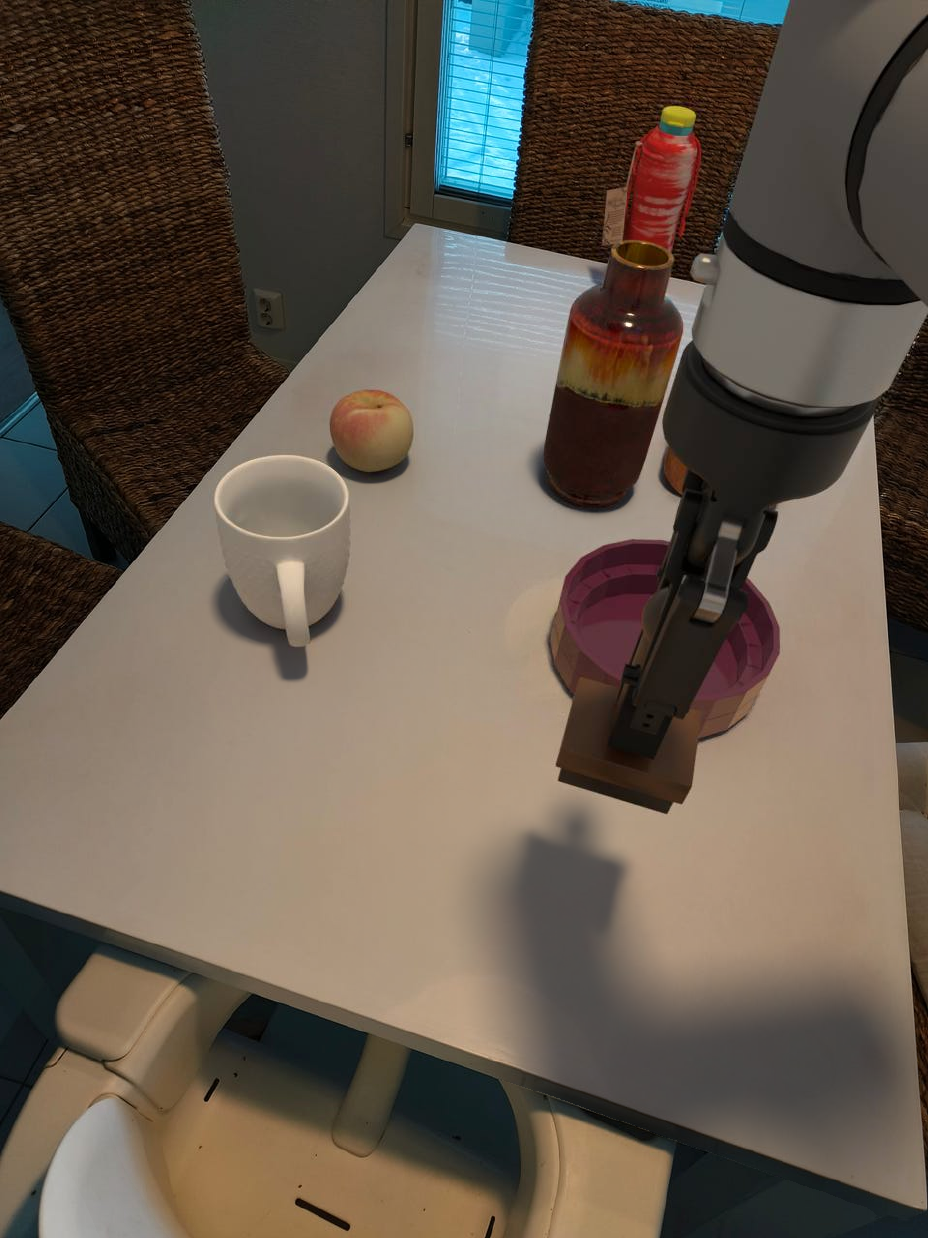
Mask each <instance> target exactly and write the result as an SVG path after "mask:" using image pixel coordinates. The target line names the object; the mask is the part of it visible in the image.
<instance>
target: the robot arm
mask: <svg viewBox="0 0 928 1238" xmlns="http://www.w3.org/2000/svg"><path fill="white" fill-rule="evenodd" d="M732 190H733V191H732V194H731V197H730V204H729V206H728V209H727V212H726V215H725V219H724V221H723V225H722V228H721V231H722V232H721V233H720V237H719V239H718V241H717V242H718V243H717V254H712V253H711V254H710V253H699V254H698V255H697V256H696V257H695V258H693V259H694V260H693V262H692V265H691V268H690V272H689V273H690V275H691V278H692V279H693V280H694V281H696V282H698V283H702V284H705V287H703V291H702V294H701V298H700V301H699V304H698V307H697V310H696V314H695V317H694V320H693V323H692V327H691V339H692V340H691V341H690V342H689V343H687V344H686V345H685V347H684V349H683V350H682V354H681V355H680V360H679V363H678V365H677V369H676V373H675V376H674V379H673V382H672V386H671V388H670V392H669V395H668V398H667V401H666V404H665V405H666V406H665V408H664V411H663V414H662V421H661V422H662V432H663V437H664V439H665V442H666V444H667V447H668V446H669V448H670V449H671V451H672V452H673V454H674V455H675V456H676V457H677V459H678V460H679V461H680V462H681V463H682V464H683V465H684V466H686V467H687V469H686V473H685V477H684V482H683V486H682V493H683V495H682V494H681V498H680V501H679V503H678V506H677V509H676V513H675V516H674V517H675V518H674V522H673V526H672V535H671V537H670V540H669V542H670V543H669V546H668V549H667V552H666V555H665V558H664V561H663V563H662V566H661V567H660V568H658V571H657V575H656V576H657V578H658V580H657V583H659V585H658V588H657V591H659V590H660V589H662V588H665V587H667V586H669V588H668V591H667V593H666V596H665V599H664V602H663V604H662V607H661V610H660V613H659V616H658V618H657V621H656V624H655V627H654V630H653V632H652V635H651V638H650V641H649V644H648V646H647V649H646V652H645V655H644V658H643V660H642V663H641V665H639V664H636V666H633V665H631V664H632V662H633V659H634V656H635V654H636V651H637V648H638V646H639V643H640V640H641V637H642V635H643V628H642V630H641V632H640V635H639V638H638V641H637V643H636V646H635V649H634V651H633V654H632V657H631V660H630V662H629V664H626V663H625V666H624V670H623V673H622V678H621V682H622V684H621V687H620V690H619V694H618V698H617V700H618V699H619V697H620V694H621V691H622V689H623V686H624V683H625V684H629V685H628V687H627V690H626V693H625V695H624V698H623V700H622V703H621V706H620V708H619V711H618V714H617V716H616V719H615V722H614V724H613V727H612V730H611V732H610V735H609V739H608V744H607V746H609V747H612V748H615V749H619V750H622V751H626V752H629V753H632V754H636V755H639V756H642V757H646V758H649V759H653V760H654V758H655V756H656V754H657V751H658V749H659V747H660V745H661V743H662V741H663V738H664V736H665V734H666V732H667V730H668V728H669V725H670V723H671V721H672V719H673V717H675V718H678V719H682V720H683V719H684V718H685V715H686V713H687V714H688V712H689V709H690V706H691V704H692V702H693V700H694V698H695V696H696V694H697V693H698V691H699V689H700V687H701V685H702V683H703V681H704V679H705V677H706V675H707V673H708V672H709V670H710V668H711V666H712V664H713V662H714V660H715V658H716V656H717V654H718V653H719V651H720V649H721V647H722V645H723V643H724V641H725V639H726V637H727V635H728V634H729V632H730V631H731V630H732V629H733V628H734V626H735V625H736V624H737V623H738V622H739V621H740V619H741V617H742V615H743V613H744V614H745V613H746V611H747V609H748V605H749V602H748V599H749V596H748V593H747V592H746V591H742V588H743V586H744V583H745V581H746V579H747V578H748V576H749V574H750V572H751V569H752V567H753V564H754V562H755V560H756V558H757V556H758V555H759V554H760V553H762V552H764V551H765V550H766V549H767V547H768V545H769V543H770V540H771V538H772V536H773V533H774V531H775V528H776V526H777V523H778V518H779V511H778V510H775V509H772V508H770V506H772V505H775V504H776V505H777V504H782V503H785V502H789V501H794V500H801V499H805V498H810V497H813V496H815V495H818V494H820V493H822V492H824V491H826V490H828V489H829V488H830V487H832V486H833V485H834V484H835V483H836V482H837V481H838V480H839V479H840V478H841V477H842V475H843V474H844V472H845V470H846V468H847V467H848V464H849V462H850V460H851V459H852V456H853V454H854V453H855V451H856V450H857V447H858V445H859V443H860V441H861V439H862V438H863V435H864V434H865V431H866V430H867V428H868V426H869V425H870V422H871V420H872V418H873V416H874V415H875V412H876V409H877V398H879V397H880V396H881V395H882V394H884V393H885V392H886V391H888V390H889V389H890V388H891V386H892V384H893V382H894V380H895V378H896V376H897V374H898V372H899V370H900V368H901V366H902V364H903V362H904V360H905V359H906V356H907V355H908V354H909V351H910V349H911V347H912V345H913V344H914V341H915V340H916V338H917V335H918V333H919V332H920V330H921V328H922V326H923V324H924V322H925V320H926V318H927V316H928V0H789V2H788V4H787V8H786V12H785V15H784V17H783V21H782V25H781V27H780V31H779V35H778V37H777V42H776V44H775V48H774V52H773V54H772V59H771V62H770V65H769V69H768V72H767V76H766V78H765V82H764V86H763V88H762V92H761V95H760V99H759V103H758V106H757V109H756V113H755V116H754V119H753V122H752V126H751V130H750V133H749V136H748V139H747V143H746V147H745V150H744V154H743V156H742V160H741V164H740V166H739V170H738V174H737V177H736V180H735V183H734V188H733V189H732ZM776 505H775V506H776ZM657 591H656V592H657Z"/></svg>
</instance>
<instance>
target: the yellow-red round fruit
mask: <svg viewBox="0 0 928 1238" xmlns="http://www.w3.org/2000/svg"><path fill="white" fill-rule="evenodd" d="M329 417H330V418H329V434H330V438H331V442H332V444H333V446H334V448H335V451H336V452H337V454H338V456H339V458H340V459H341V460H342V461H343V462H344V463H345V464H346V465H348V466H349V467H351V468H353V469H355V470H358V471H361V472H367V473H372V472H379V471H384V470H387V469H391V468H392V467H394V466H396V465H398V464H400V463H401V462H402V461H403V460H404V459H405V458H406V456H407V455H408V454H409V451H410V450H411V448H412V444H413V441H414V422H413V418H412V415H411V412H410V410H409V409H408V407H407V406H406V405H405V404H404V403H403V401H401V400H400V398H398V397H397V396H395V395H394V394H393V393H390V392H387V391H384V390H382V389H381V390H380V389H362V390H360V389H359V390H357V391H354V392H351V393H349V394H347V395H345V396H343V397H342V398H341V399H339V400H338V401H337V402H336V404H335V405H334V407H333V409H332V411H331V414H330V416H329Z"/></svg>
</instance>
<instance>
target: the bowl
mask: <svg viewBox="0 0 928 1238" xmlns="http://www.w3.org/2000/svg"><path fill="white" fill-rule="evenodd" d="M669 543H670V540H669V541H668V540H663V539H644V538H643V539H641V538H640V539H637V538H632V539H631V538H630V539H627V540H622V541H617V542H612V543H608V544H604V545H601V546H599V547H597V548H596V549H594V550H592V551H590V552H589V553H587V554H585V555H583V556H582V557H580V558H579V559H578V561H576V563H575V564H574V565H573V567H571V569H570V570H569V571H568V572H567V574H566V575H565V577H564V581H563V584H562V588H561V592H560V595H559V599H558V605H557V608H556V612H555V615H554V620H553V623H552V624H553V625H552V629H551V632H550V635H549V636H550V637H549V642H550V647H551V653H552V659H553V664H554V667H555V668H556V670H557V673H559V675H560V677H561V679H562V680H563V682H564V683H565V685H566V688H568V690H569V692H570V693H572V694H573V695H574V694H575V691H576V687H577V684H578V681H579V678H580V677H582V678H586V679H589V680H593V681H596V682H600V683H603V684H607V685H610V686H614V687H617V688H620V687H621V684H622V682H621V678H622V673H623V670H624V666H625V663H626V664H629V662H630V660H631V657H632V654H633V651H634V649H635V646H636V643H637V641H638V638H639V635H640V632H641V630H642V613H643V609H644V607H645V605H646V603H647V601H648V600H649V598H650V597H651V596H652V595H653V594H654V593H656V591H657V588H658V585H659V583H657V580H658V578H657V576H656V575H657V571H658V568H660V567H661V566H662V563H663V561H664V558H665V555H666V552H667V549H668V546H669ZM742 591H746V592H747V593H748V596H749V599H748V602H749V605H748V609H747V611H746V613H745V614H744V613H743V615H742V617H741V619H740V621H739V622H738V623H737V624H736V625H735V626H734V628H733V629H732V630H731V631H730V632H729V634H728V635H727V637H726V639H725V641H724V643H723V645H722V647H721V649H720V651H719V653H718V654H717V656H716V658H715V660H714V662H713V664H712V666H711V668H710V670H709V672H708V673H707V675H706V677H705V679H704V681H703V683H702V685H701V687H700V689H699V691H698V693H697V694H696V696H695V698H694V700H693V702H692V704H691V706H690V708H691V709H694V710H698V711H701V713H702V714H701V722H700V729H699V737H698V740H699V739H702V738H704V737H708V736H712V735H715V734H718V733H722V732H724V731H727V730H728V729H729V728H731V727H733V725H735V724H736V723H737V722H738V721H740V720H741V719H743V717H745V716H746V715H747V714H748V713H749V712H750V710H751V708H752V707H753V705H754V703H755V701H756V700H757V697H758V696H759V693H760V692H761V690H762V689H763V687H764V684H765V683H766V681H767V679H768V677H769V676H770V674H771V671H772V670H773V668H774V665H775V664H776V662H777V660H778V658H779V656H780V655H781V627H780V624H779V623H778V620H777V618H776V615H775V613H774V610H773V608H772V606H771V603H770V602H769V600H767V598H766V597H765V596H764V594H763V593H762V592H761V591H760V590H759V588H758V587H757V586H756V585H755V584H754V583H753V581H752V580H750V578H748V577H747V579H746V581H745V583H744V586H743V588H742Z"/></svg>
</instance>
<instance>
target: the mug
mask: <svg viewBox="0 0 928 1238" xmlns="http://www.w3.org/2000/svg"><path fill="white" fill-rule="evenodd" d="M213 504H214V511H215V518H216V519H215V521H216V525H217V527H216V528H217V533H218V536H219V544H220V548H221V550H222V551H221V552H222V557H223V558H224V566H225V568H226V569H227V575H228V577H229V578H230V580H231V583H232V586H233V588H234V589H235V591H236V593H237V595H238V597H239V598H240V600H241V602H242V603H243V604H244V606H245V607H246V608H247V610H248V611H249V612H250V613H252V614H253V615H254V616H255V617H256V618H257V619H259V620H260V621H261V622H262V623H264V624H266V625H268V626H270V627H273V628H276V629H279V630H285V632H286V636H287V641H288V644H289V645H290V646H291V647H294V648H301V647H306V646H308V645H310V644H311V635H310V628H309V627H310V626H312V625H314V624H316V623H317V622H318V621H320V620H321V619H322V618H323V617H325V616H326V614H327V613H329V611H330V610H331V608H332V607H333V606H334V604H335V602H336V601H337V599H338V598H339V596H340V593H341V592H342V587H343V585H344V584H345V578H346V576H347V573H348V572H347V571H348V566H349V557H350V555H351V554H350V548H351V512H350V492H349V489H348V486H347V484H346V482H345V480H344V479H343V478H342V476H341V475H340V474H339V473H338V472H337V471H336V470H335V469H334V468H332V467H330V466H329V465H327V464H325V463H323V462H321V461H319V460H317V459H314V458H310V457H305V456H303V455H302V456H301V455H296V454H295V455H294V454H278V455H267V456H262V457H258V458H254V459H251V460H248V461H245V462H243V463H241V464H239V465H237V466H235V467H233V468H232V469H230V471H228V472H227V473H226V474H225V475H224V476H223V477H222V478H221V479H220V480H219V482H218V483H217V486H216V488H215V490H214V495H213Z"/></svg>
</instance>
